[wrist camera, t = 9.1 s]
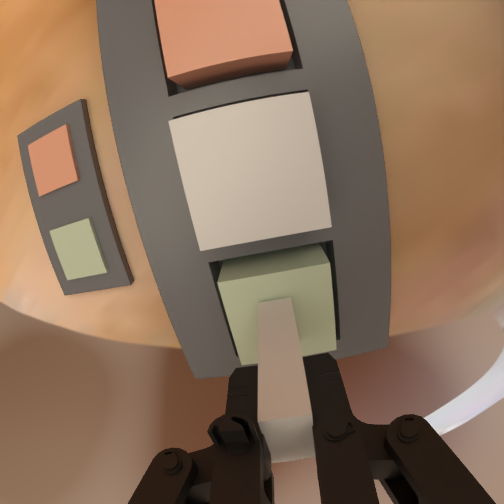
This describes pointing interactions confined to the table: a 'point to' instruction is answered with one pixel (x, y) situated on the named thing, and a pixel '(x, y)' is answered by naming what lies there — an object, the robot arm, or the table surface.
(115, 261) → the placard
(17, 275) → the table surface
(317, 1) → the keypad
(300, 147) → the key beige
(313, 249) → the key sage
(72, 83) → the table surface
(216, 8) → the key terracotta
